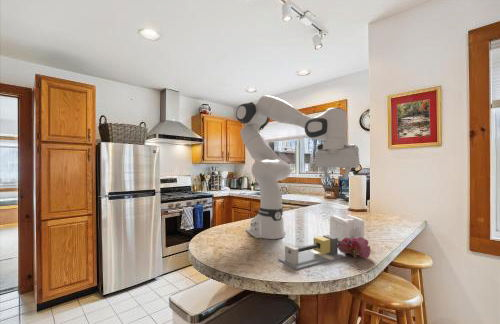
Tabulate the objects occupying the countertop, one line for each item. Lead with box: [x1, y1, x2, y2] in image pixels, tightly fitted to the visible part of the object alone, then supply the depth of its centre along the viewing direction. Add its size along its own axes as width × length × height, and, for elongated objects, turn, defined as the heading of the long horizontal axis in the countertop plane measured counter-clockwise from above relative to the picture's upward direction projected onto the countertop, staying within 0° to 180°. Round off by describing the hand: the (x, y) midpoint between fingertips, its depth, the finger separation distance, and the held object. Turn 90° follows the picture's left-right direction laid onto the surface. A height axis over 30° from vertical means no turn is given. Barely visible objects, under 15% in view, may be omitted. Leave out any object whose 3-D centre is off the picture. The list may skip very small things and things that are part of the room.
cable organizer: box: [329, 214, 365, 242], centre depth 117 cm, size 15×11×12 cm
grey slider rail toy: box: [278, 234, 345, 271], centre depth 94 cm, size 10×25×7 cm, turn 122°
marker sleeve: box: [312, 235, 330, 254], centre depth 97 cm, size 5×4×5 cm
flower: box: [338, 237, 371, 263], centre depth 97 cm, size 11×10×10 cm
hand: (335, 178), depth 103 cm, fingers open, 8 cm apart
